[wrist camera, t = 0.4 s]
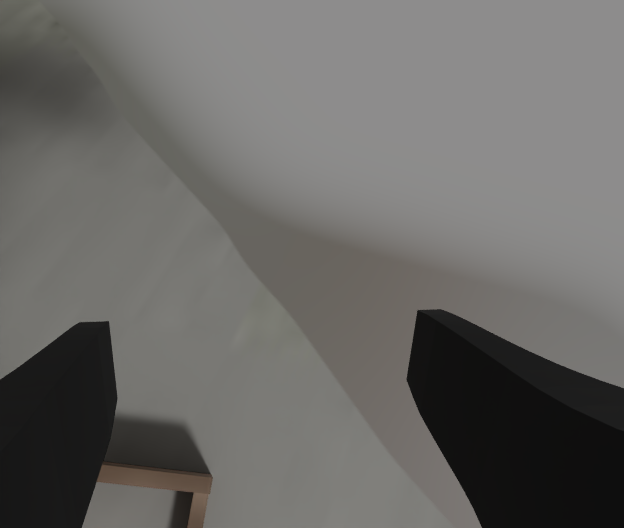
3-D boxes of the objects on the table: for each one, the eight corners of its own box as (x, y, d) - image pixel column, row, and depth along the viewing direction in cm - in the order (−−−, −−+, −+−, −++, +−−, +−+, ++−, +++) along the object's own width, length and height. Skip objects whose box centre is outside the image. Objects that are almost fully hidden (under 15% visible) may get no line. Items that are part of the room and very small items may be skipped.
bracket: (192, 576, 34) (192, 592, 30) (-98, 552, 31) (-137, 567, 27) (211, 474, 36) (212, 477, 32) (-57, 442, 33) (-88, 442, 29)
